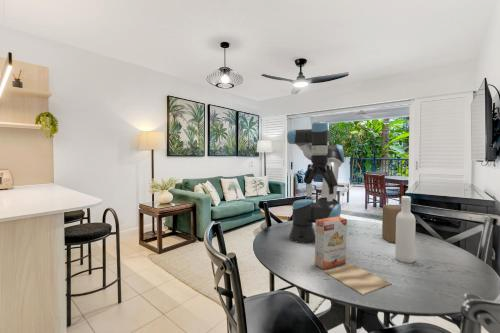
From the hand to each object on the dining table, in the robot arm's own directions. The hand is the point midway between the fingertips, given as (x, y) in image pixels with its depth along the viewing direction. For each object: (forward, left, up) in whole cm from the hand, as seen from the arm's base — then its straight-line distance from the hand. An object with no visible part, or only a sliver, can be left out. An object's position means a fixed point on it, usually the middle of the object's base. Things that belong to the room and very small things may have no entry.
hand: (319, 198), depth 118 cm
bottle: (+21, +34, -29) cm, 49 cm away
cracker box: (+9, -1, -29) cm, 30 cm away
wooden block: (+2, +55, -29) cm, 62 cm away
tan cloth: (+23, -1, -29) cm, 36 cm away
